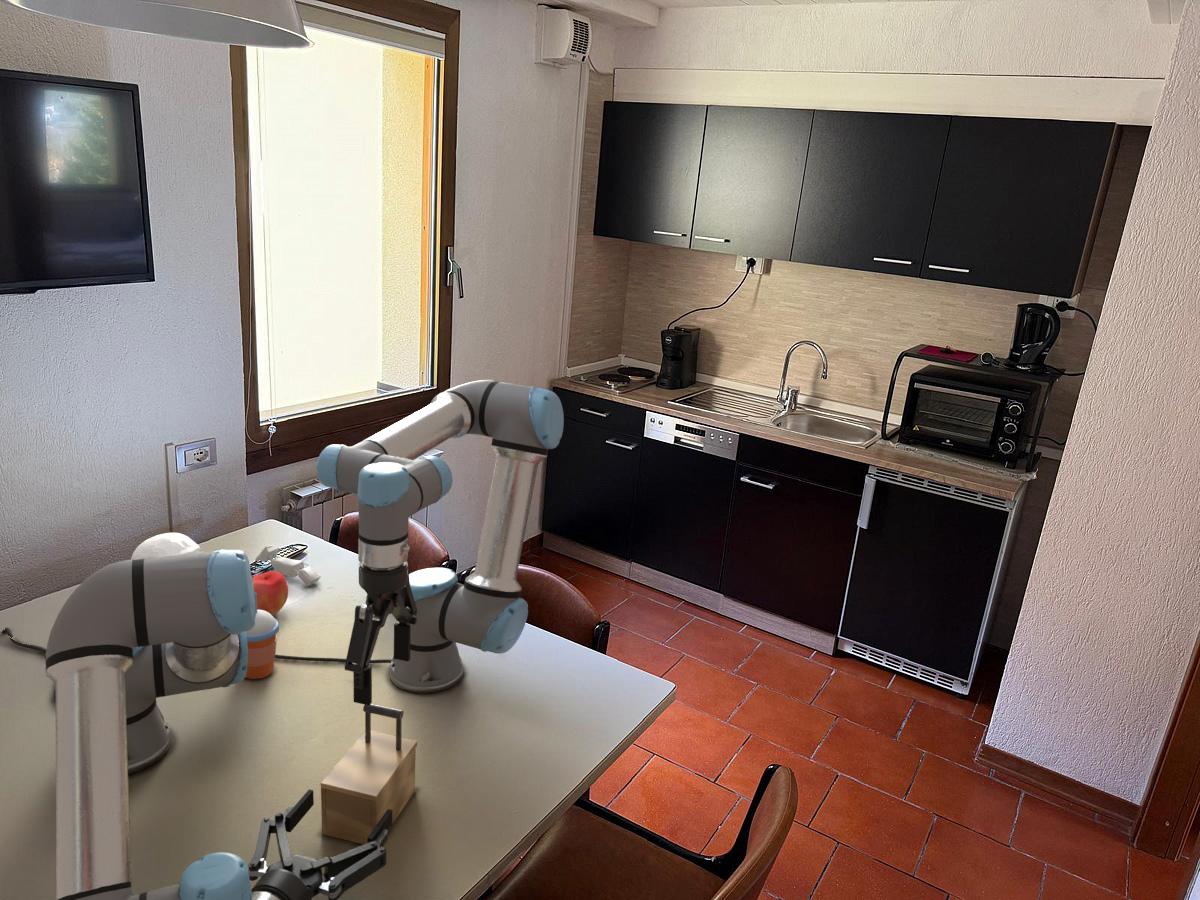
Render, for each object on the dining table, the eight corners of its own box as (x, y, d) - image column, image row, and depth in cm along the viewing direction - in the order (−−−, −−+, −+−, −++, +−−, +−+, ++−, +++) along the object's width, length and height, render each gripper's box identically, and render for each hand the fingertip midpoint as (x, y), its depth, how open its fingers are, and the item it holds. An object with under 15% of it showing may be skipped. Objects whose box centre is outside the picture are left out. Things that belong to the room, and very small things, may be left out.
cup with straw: (265, 686, 173) (261, 607, 168) (224, 678, 175) (219, 599, 169) (289, 663, 182) (286, 587, 176) (250, 656, 183) (246, 580, 178)
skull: (195, 618, 196) (192, 554, 192) (118, 599, 202) (114, 537, 198) (235, 596, 208) (233, 535, 204) (161, 578, 214) (158, 519, 210)
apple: (273, 600, 207) (272, 562, 204) (297, 613, 202) (296, 575, 199) (237, 614, 200) (234, 575, 197) (261, 628, 194) (259, 588, 191)
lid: (366, 733, 148) (366, 691, 145) (417, 745, 146) (418, 702, 143) (320, 787, 134) (319, 742, 132) (376, 801, 132) (376, 755, 130)
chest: (364, 778, 150) (364, 736, 147) (415, 790, 148) (415, 747, 145) (321, 834, 137) (320, 788, 134) (376, 848, 135) (376, 801, 132)
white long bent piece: (253, 565, 223) (254, 542, 221) (265, 560, 226) (266, 537, 224) (309, 593, 215) (310, 569, 213) (320, 588, 218) (321, 564, 216)
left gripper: (190, 910, 118) (280, 808, 138) (354, 957, 113) (423, 844, 133) (186, 866, 116) (278, 769, 135) (354, 912, 110) (424, 804, 130)
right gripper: (366, 600, 121) (366, 728, 127) (438, 536, 144) (435, 647, 151) (318, 591, 123) (321, 718, 129) (397, 529, 146) (396, 639, 152)
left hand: (350, 806), depth 134 cm, fingers open, 13 cm apart
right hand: (383, 680), depth 140 cm, fingers open, 13 cm apart
